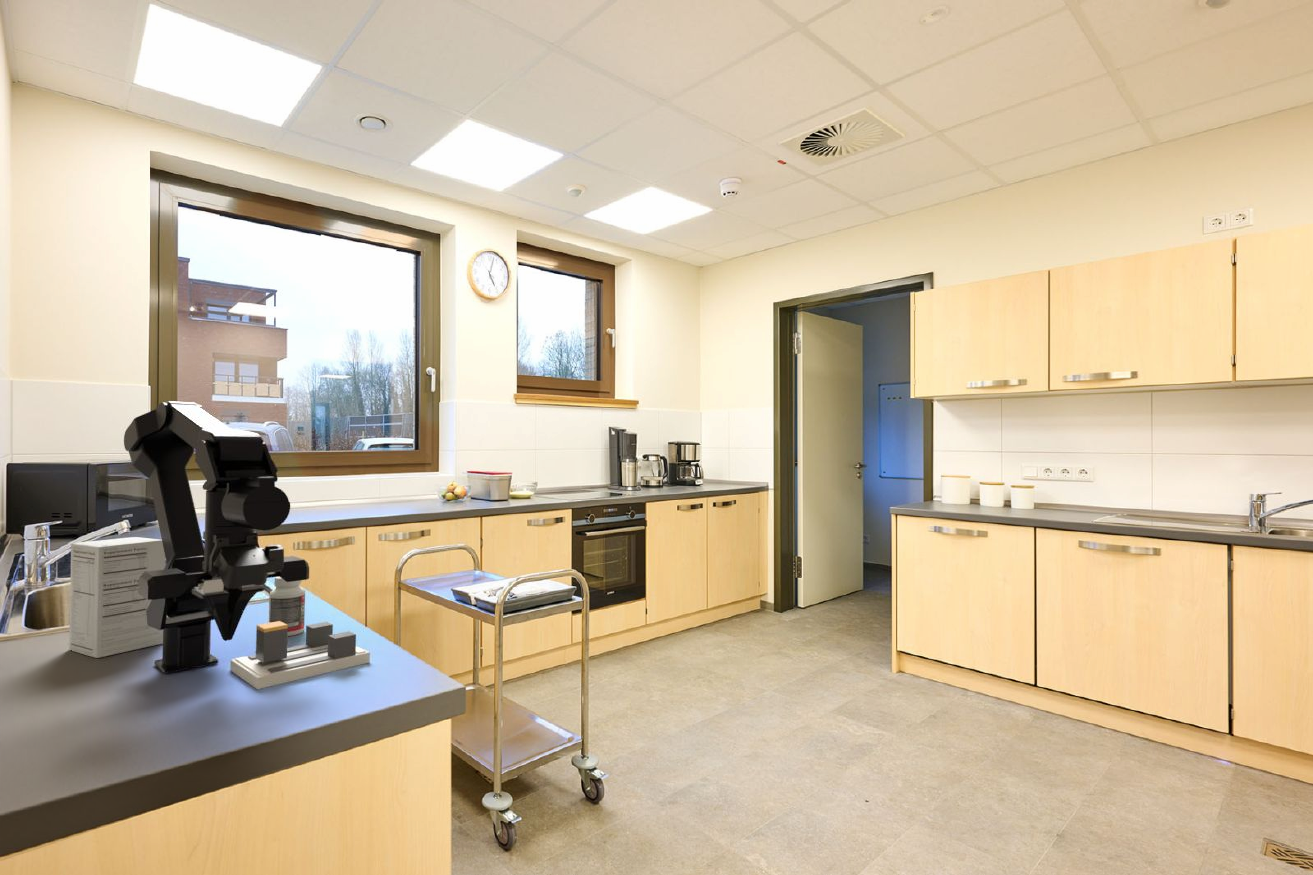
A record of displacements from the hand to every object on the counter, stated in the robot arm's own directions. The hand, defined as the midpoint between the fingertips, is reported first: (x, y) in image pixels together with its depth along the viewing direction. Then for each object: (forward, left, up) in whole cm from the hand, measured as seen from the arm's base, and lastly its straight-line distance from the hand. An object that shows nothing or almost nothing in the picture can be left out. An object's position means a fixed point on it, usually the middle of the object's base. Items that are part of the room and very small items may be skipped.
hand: (227, 639), depth 88 cm
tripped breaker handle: (0, +5, -4) cm, 7 cm away
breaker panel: (0, +10, -6) cm, 11 cm away
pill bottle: (-20, +15, -6) cm, 25 cm away
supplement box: (-31, -6, -6) cm, 32 cm away
